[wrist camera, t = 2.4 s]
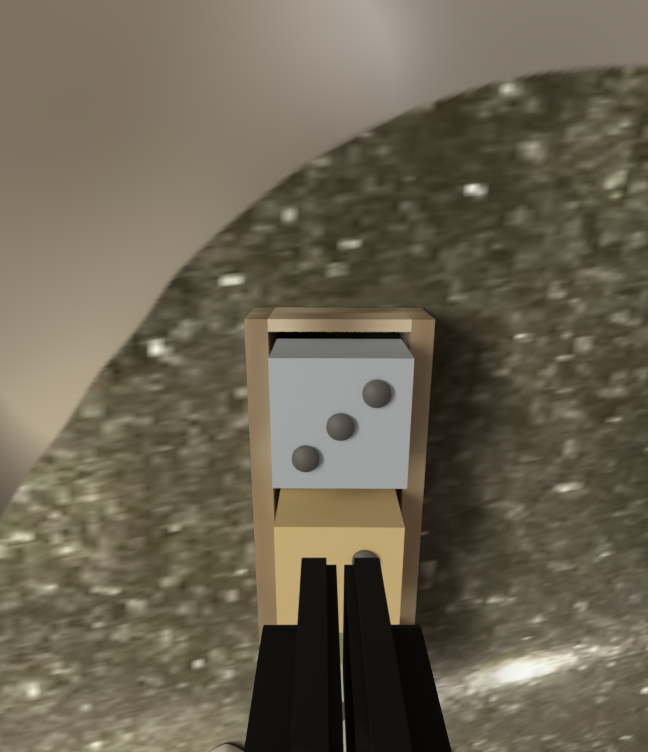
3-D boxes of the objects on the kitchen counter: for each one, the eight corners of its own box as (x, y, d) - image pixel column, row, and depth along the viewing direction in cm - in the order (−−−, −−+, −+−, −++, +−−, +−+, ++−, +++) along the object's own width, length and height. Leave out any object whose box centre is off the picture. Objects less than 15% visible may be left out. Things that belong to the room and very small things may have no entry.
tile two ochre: (394, 486, 26) (405, 530, 22) (389, 581, 28) (399, 636, 24) (281, 486, 26) (273, 529, 22) (283, 580, 28) (276, 635, 24)
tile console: (421, 307, 26) (435, 319, 23) (400, 657, 33) (409, 707, 30) (255, 307, 26) (244, 319, 23) (269, 656, 33) (262, 706, 30)
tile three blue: (401, 339, 24) (415, 359, 20) (395, 452, 25) (407, 491, 22) (277, 338, 24) (267, 359, 20) (280, 451, 25) (272, 490, 22)
